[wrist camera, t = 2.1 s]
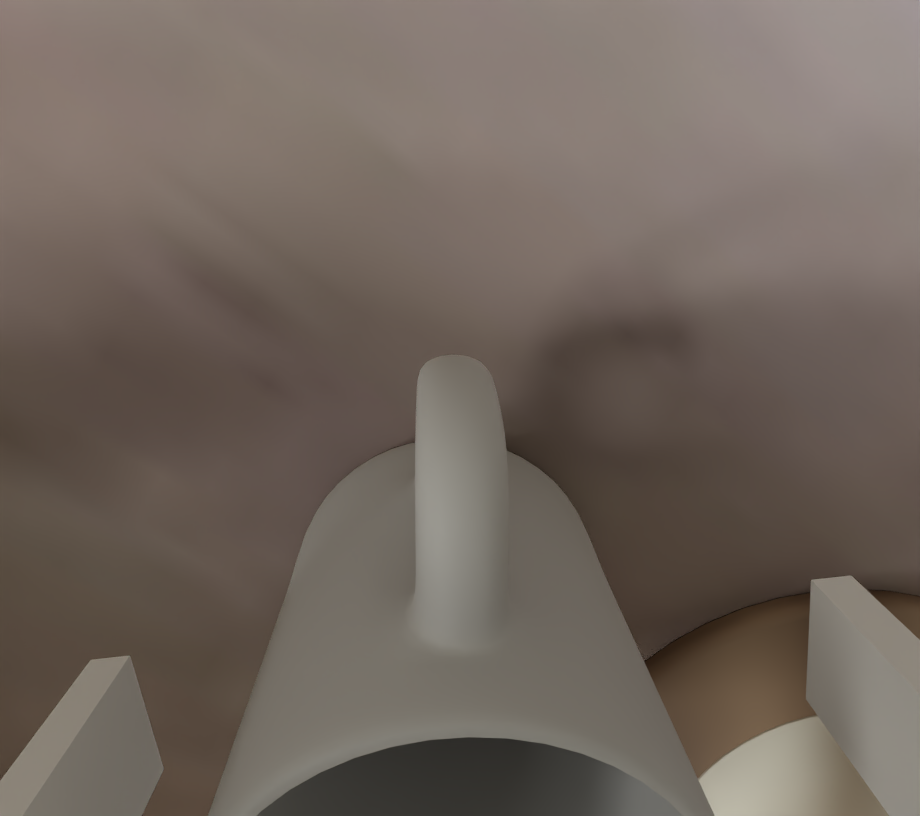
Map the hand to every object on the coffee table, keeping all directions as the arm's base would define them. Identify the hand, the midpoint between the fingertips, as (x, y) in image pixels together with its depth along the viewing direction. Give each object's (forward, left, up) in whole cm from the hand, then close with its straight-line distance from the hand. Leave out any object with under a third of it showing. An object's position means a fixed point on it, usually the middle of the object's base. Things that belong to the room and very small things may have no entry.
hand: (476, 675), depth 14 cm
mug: (0, 0, -7) cm, 7 cm away
